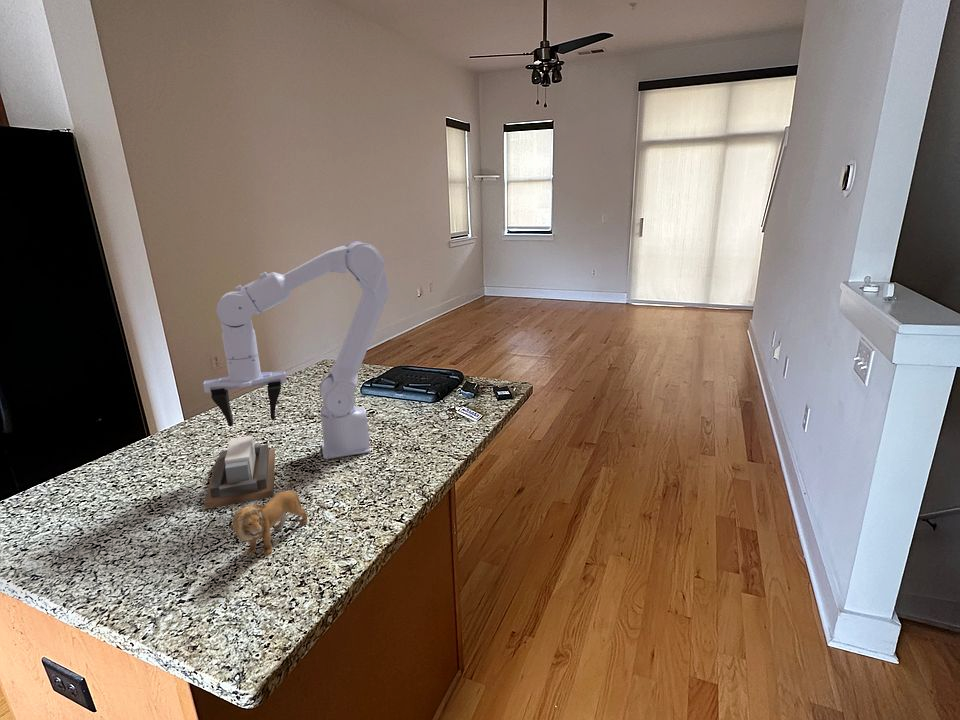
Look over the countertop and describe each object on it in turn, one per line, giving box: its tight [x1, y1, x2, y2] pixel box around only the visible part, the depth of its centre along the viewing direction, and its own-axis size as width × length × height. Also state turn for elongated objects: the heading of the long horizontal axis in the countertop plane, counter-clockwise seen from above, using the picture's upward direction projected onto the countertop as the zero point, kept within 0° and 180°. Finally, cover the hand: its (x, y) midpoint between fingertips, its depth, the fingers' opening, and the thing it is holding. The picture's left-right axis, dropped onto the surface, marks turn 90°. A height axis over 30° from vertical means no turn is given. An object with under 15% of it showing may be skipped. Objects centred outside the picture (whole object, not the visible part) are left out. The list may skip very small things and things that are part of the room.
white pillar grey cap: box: [225, 434, 256, 484], centre depth 97 cm, size 4×12×5 cm, turn 20°
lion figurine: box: [231, 490, 309, 556], centre depth 78 cm, size 15×5×9 cm, turn 167°
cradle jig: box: [203, 443, 276, 510], centre depth 98 cm, size 11×18×3 cm, turn 20°
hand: (252, 421), depth 101 cm, fingers open, 7 cm apart
